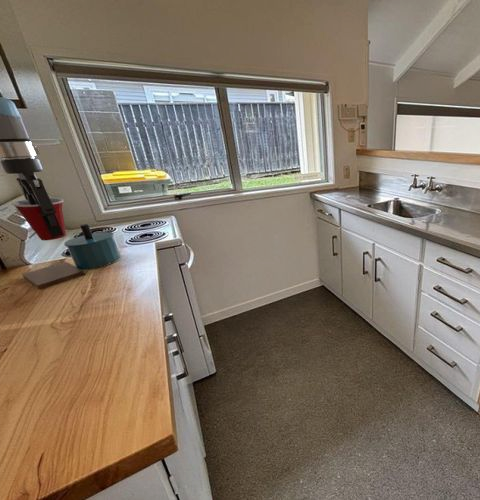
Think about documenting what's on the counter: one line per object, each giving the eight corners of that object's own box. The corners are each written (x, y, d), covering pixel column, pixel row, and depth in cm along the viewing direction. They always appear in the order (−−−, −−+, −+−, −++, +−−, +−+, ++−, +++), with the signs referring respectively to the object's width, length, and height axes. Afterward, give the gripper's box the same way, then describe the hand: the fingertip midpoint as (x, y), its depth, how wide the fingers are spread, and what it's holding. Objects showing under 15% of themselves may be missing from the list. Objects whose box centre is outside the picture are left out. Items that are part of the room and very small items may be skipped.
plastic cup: (62, 241, 86) (45, 202, 81) (20, 245, 84) (0, 205, 79) (85, 230, 96) (71, 195, 91) (48, 233, 94) (31, 197, 89)
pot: (67, 271, 106) (56, 247, 102) (93, 256, 118) (84, 235, 115) (106, 267, 107) (96, 244, 104) (127, 254, 120) (120, 233, 116)
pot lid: (54, 249, 102) (46, 232, 100) (84, 236, 116) (77, 220, 113) (97, 246, 103) (90, 229, 101) (122, 233, 117) (116, 218, 114)
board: (39, 289, 93) (37, 285, 93) (23, 277, 102) (21, 274, 101) (85, 274, 103) (83, 270, 102) (67, 265, 111) (65, 261, 111)
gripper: (48, 157, 78) (80, 235, 87) (27, 156, 89) (57, 225, 97) (9, 160, 72) (47, 242, 81) (-9, 158, 83) (26, 232, 91)
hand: (52, 233), depth 89 cm, fingers closed on plastic cup, 8 cm apart
